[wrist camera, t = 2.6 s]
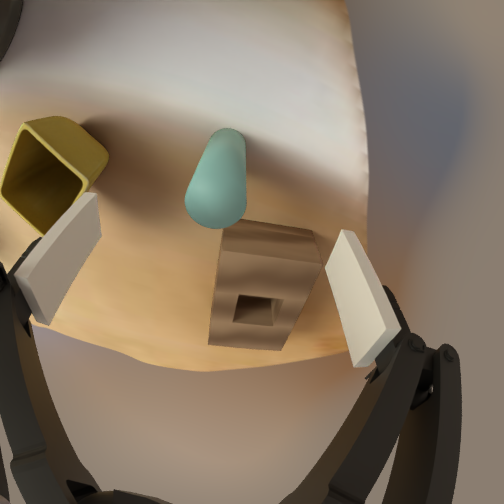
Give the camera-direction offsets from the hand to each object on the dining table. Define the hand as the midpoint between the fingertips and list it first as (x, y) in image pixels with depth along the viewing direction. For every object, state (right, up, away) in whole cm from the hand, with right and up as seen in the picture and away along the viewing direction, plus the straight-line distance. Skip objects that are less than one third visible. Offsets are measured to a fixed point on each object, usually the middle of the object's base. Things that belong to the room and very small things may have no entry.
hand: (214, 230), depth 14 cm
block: (+2, -4, +22) cm, 22 cm away
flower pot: (-17, +10, +10) cm, 22 cm away
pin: (-1, +9, +11) cm, 15 cm away
